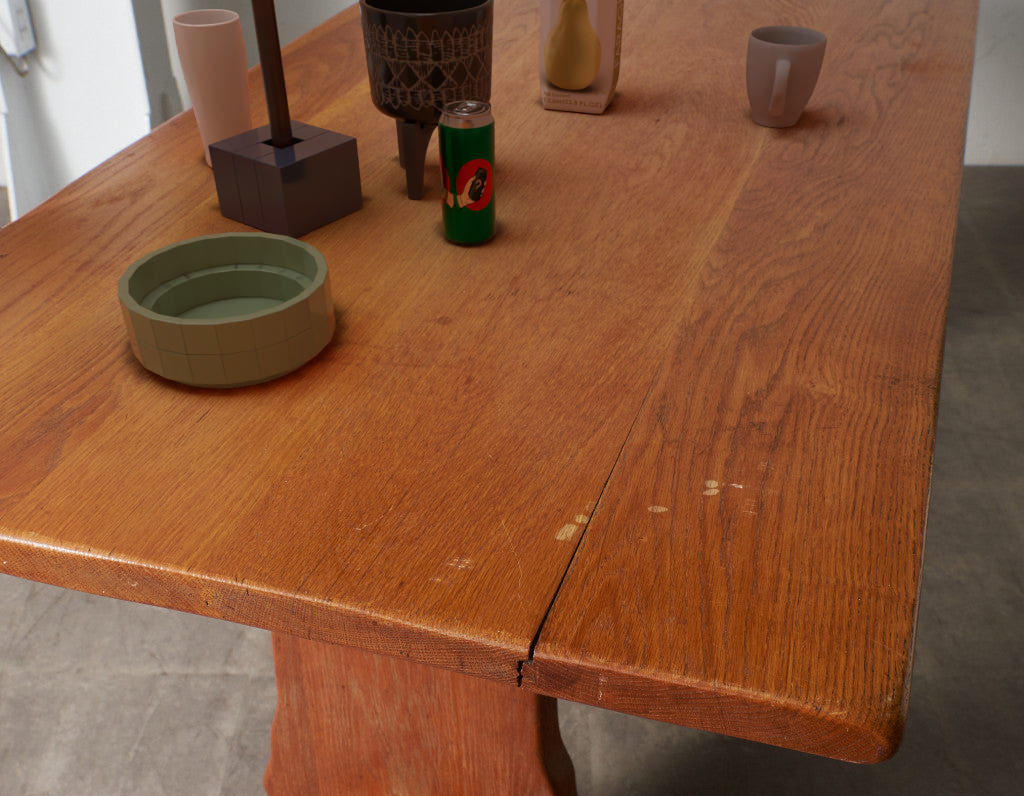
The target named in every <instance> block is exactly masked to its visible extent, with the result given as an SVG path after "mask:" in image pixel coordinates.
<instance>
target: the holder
mask: <svg viewBox="0 0 1024 796" xmlns="http://www.w3.org/2000/svg"><path fill="white" fill-rule="evenodd" d="M290 120H291V128H292V135H293V142H294V145H292V146H290V147H287V148H284V149H282V150H281V149H279V148H276V147H273V144H272V138H271V131H270V124H269V123H267V124H266V123H265V124H264V125H261V126H258V127H256V128H252V130H249V131H247V132H244V133H241V134H238V135H235V136H232V137H230V138H227V139H224V140H221V141H218V142H215V143H213V144H210V145H208V148H209V153H210V158H211V164H212V168H211V169H212V174H213V179H214V184H215V189H216V194H217V201H218V205H219V211H220V215H221V216H223V217H224V218H228V219H230V220H233V221H236V222H239V223H241V224H245V225H247V226H249V227H253V228H255V229H258V230H260V231H263V232H265V233H271V234H277V235H284V236H288V237H292V238H294V239H297V238H299V237H301V236H304V235H306V234H308V233H310V232H312V231H315V230H317V229H320V228H321V227H323V226H325V225H328V224H330V223H332V222H335V221H337V220H339V219H340V218H344V217H345V216H347V215H349V214H351V213H354V212H356V211H359V210H361V209H363V208H364V199H363V192H362V181H361V171H360V161H359V150H358V139H357V137H354V136H351V135H348V134H344V133H341V132H338V131H333V130H330V129H327V128H323V127H319V126H317V125H313V124H309V123H305V122H302V121H299V120H295V119H291V118H290Z"/></svg>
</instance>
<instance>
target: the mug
mask: <svg viewBox="0 0 1024 796" xmlns="http://www.w3.org/2000/svg"><path fill="white" fill-rule="evenodd" d="M827 41H828V38H827V36H826V34H825V33H823V32H821V31H820V30H817V29H813V28H810V27H809V28H808V27H803V26H797V25H767V26H761V27H757V28H755V29H753V30H752V31H751V32H750V33H749V36H748V41H747V42H748V43H747V50H746V61H745V62H746V63H745V83H746V92H747V93H746V94H747V98H748V99H747V100H748V103H749V106H750V109H751V116H752V121H753V123H755V124H758V125H760V126H763V127H767V128H789V127H793V126H795V125H797V124H798V121H799V119H800V117H801V115H802V113H803V111H804V110H805V108H806V107H807V105H808V103H809V101H810V100H811V97H812V95H813V93H814V91H815V88H816V86H817V83H818V81H819V77H820V74H821V71H822V66H823V62H824V59H825V54H826V49H827V44H828V43H827Z"/></svg>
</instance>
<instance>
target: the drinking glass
mask: <svg viewBox="0 0 1024 796" xmlns="http://www.w3.org/2000/svg"><path fill="white" fill-rule="evenodd" d="M171 21H172V25H173V26H172V27H173V33H174V40H175V45H176V50H177V55H178V59H179V63H180V68H181V71H182V75H183V79H184V82H185V86H186V89H187V93H188V96H189V100H190V104H191V107H192V110H193V114H194V117H195V121H196V124H197V128H198V132H199V136H200V139H201V144H202V147H203V152H204V158H205V162H206V163H207V165H208V166H209V167H210V168H211V169H212V164H211V158H210V153H209V148H208V145H210V144H213V143H215V142H218V141H221V140H224V139H227V138H230V137H232V136H235V135H238V134H241V133H244V132H247V131H249V130H252V129H253V123H252V110H251V109H252V108H251V98H250V96H251V95H250V84H249V83H250V82H249V69H248V59H247V58H248V57H247V50H246V45H245V38H244V32H243V27H242V24H241V23H242V22H241V19H240V15H239V13H237V12H235V11H233V10H229V9H220V8H219V9H217V8H210V9H208V8H206V9H196V10H189V11H185V12H181V13H178V14H177V15H175V16H174V17H173V18H172V20H171Z"/></svg>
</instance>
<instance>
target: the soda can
mask: <svg viewBox="0 0 1024 796" xmlns="http://www.w3.org/2000/svg"><path fill="white" fill-rule="evenodd" d="M441 111H442V114H441V115H440V117H439V119H438V127H437V136H438V137H437V138H438V154H439V155H438V158H439V159H438V160H439V176H440V177H439V178H440V179H439V180H440V193H441V194H440V197H441V201H440V202H441V215H442V216H441V218H442V219H441V221H442V233H443V235H444V236H445V238H447V240H448V241H449V242H451V243H452V244H456V245H458V246H459V245H460V246H467V247H469V246H471V247H472V246H478V245H483V244H485V243H487V242H489V241H490V240H491V239H492V238H493V237H494V236H495V235H496V233H497V219H496V218H497V210H496V209H497V207H496V205H497V203H496V201H497V200H496V137H495V136H496V135H495V134H496V133H495V131H496V128H495V126H496V125H495V124H496V123H495V118H494V116H493V115H492V112H491V113H490V107H489V105H487V104H485V103H482V102H478V101H455V102H451V103H448V104H445V105H444V106H443V107H442V109H441Z"/></svg>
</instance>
